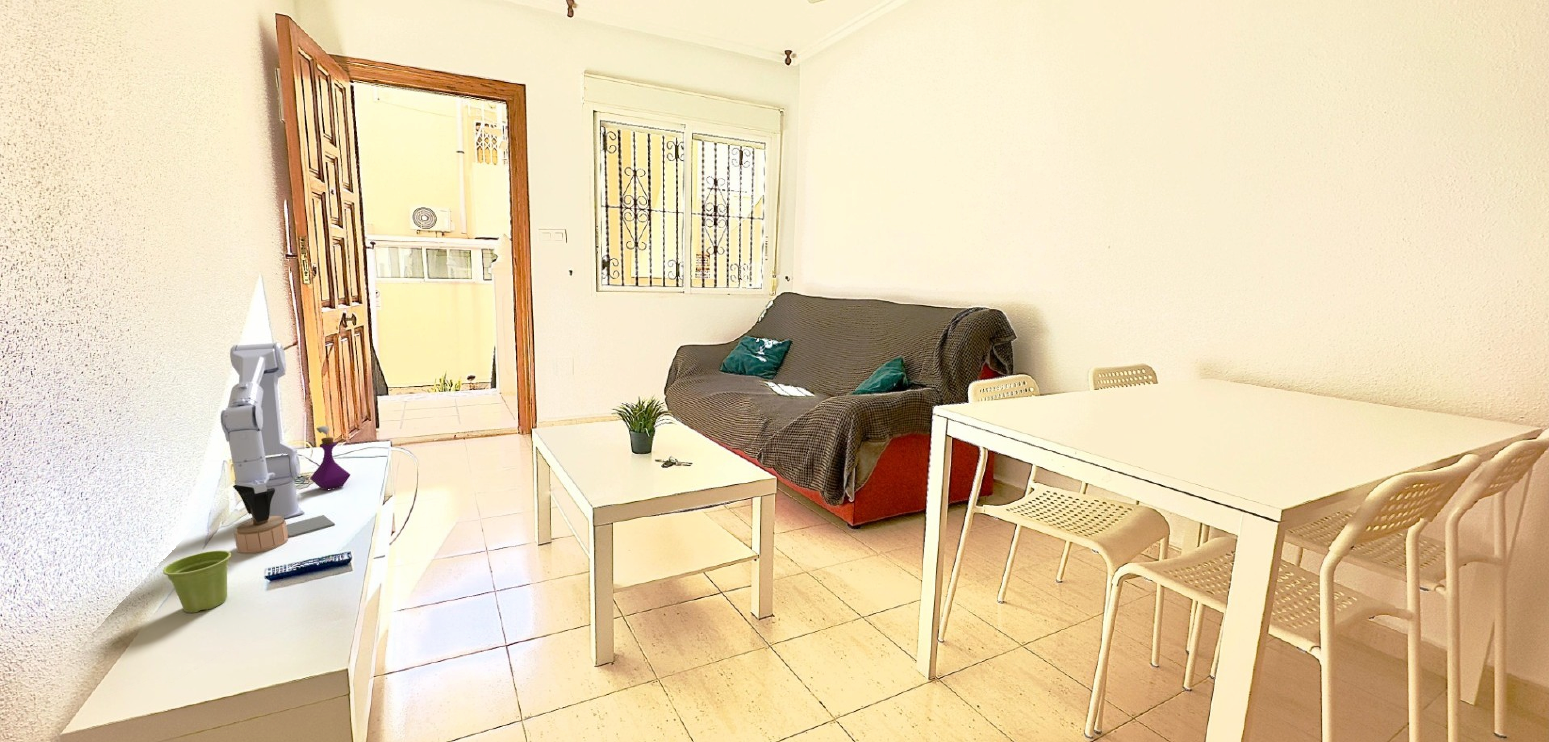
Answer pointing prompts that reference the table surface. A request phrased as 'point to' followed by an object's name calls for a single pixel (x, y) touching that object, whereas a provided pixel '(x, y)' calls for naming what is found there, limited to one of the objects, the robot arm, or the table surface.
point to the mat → (308, 525)
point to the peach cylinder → (261, 540)
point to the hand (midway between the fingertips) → (258, 516)
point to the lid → (260, 525)
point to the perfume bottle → (329, 466)
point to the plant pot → (200, 579)
